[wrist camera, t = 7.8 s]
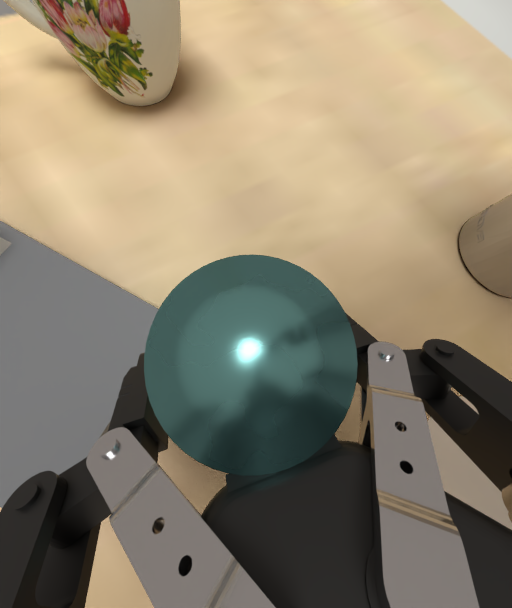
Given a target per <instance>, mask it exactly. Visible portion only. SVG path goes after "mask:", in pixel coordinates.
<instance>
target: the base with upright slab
mask: <svg viewBox="0 0 512 608" xmlns="http://www.w3.org/2000/svg"><path fill="white" fill-rule="evenodd" d="M458 397H459V398H461V399H462V400H463V401H464V402H465V403H466V404H467V405H469V406H470V407H471V408H472V409H473V410H474V411H475V412H477V413H478V411H477V409H476V408H475V406H474V405H473V404H472V403H470V402H469V401H468V400H467V399H466V398H465V397H463V396H458ZM478 414H479V413H478ZM428 426H429V430H430V434H431V439H432V443H433V447H434V451H435V455H436V459H437V464H438V468H439V472H440V476H441V480H442V484H443V489H444V491H445V492H447V493H449V494H451V495H452V496H454V497H456V498H458V499H459V500H461V501H463V502H464V503H466V504H468V505H470V506H471V507H473V508H475V509H476V510H478V511H480V512H482V513H483V514H485V515H487V516H489V517H490V518H492V519H494V520H495V521H497V522H499V523H501V524H502V525H504V526H506V527H507V528H509V529H511V530H512V522H511V520H510V519H509V516H508V510H507V508H506V506H505V504H504V502H503V499H502V492H501V491H500V490H499V489H498V488H497V487H496V486H495V485H494V484H493V483H492V482H491V480H490V479H489V478H488V477H487V476H486V475H485V474H484V473H483V472H482V471H481V470H480V469H479V468H478V467H477V466H476V464H475V463H474V462H473V461H472V460H471V459H470V458H469V457H468V456H467V455H466V454H465V453H464V452H463V451H462V450H461V448H460V447H459V446H458V445H457V444H456V443H455V442H454V441H453V440H452V439H451V438H450V437H449V436H448V435H447V434H446V432H445V431H444V430H443V429H442V428H441V427H440V426H439V425H438V424H437V423H436V422H435V421H434V420H433V419H432V418H431V416H430V418H429V420H428Z"/></svg>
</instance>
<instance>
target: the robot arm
mask: <svg viewBox="0 0 512 608" xmlns="http://www.w3.org/2000/svg"><path fill="white" fill-rule="evenodd" d="M459 247H460V252H461V255H462V258H463V260H464V262H465V265H466V267H467V268H468V269H469V271H470V272H471V274H472V275H473V276H474V277H475V278H476V279H477V280H478V281H479V282H480V283H481V284H482V285H484V286H485V287H486V288H488V289H489V290H491V291H493V292H495V293H497V294H499V295H502V296H505V297H511V298H512V194H511V195H509V196H507V197H506V198H504V199H502V200H501V201H499V202H497V203H495V204H494V205H491V206H489V207H488V208H486V209H485V210H484V211H482V212H480V213H479V214H477V215H475V216H474V217H472V218H471V219H469V220H468V221H467V222H466V223H465V224H464V225H463V228H462V230H461V232H460V237H459ZM345 314H346V313H345ZM346 316H347V318H348V321H349V323H350V326H351V329H352V332H353V335H354V339H355V344H356V349H357V362H358V365H357V380H356V382H358V383H359V385H360V386H361V388H360V432H359V443H355V442H350V441H338V440H337V438H336V436H335V435H334V434H333V436H332V437H331V438H330V439H329V441H328V442H327V443H326V444H325V445H324V446H323V447H321V448H320V449H319V450H318V451H317V452H316V453H315V454H313V455H312V456H310V457H309V458H307V459H306V460H304V461H303V462H301V463H299V464H297V465H295V466H293V467H291V468H288V469H285V470H282V471H279V472H276V473H271V474H264V475H236V474H227V475H226V483H227V485H226V486H224V487H223V488H222V489H221V490H220V491H219V492H218V493H217V494H216V495H215V496H214V497H213V499H212V500H211V501H210V502H209V504H208V506H207V507H206V509H205V510H204V512H203V514H202V516H201V515H200V513H199V512H198V511H197V510H196V509H195V507H194V506H193V505H192V504H191V503H190V502H189V500H188V499H187V498H186V497H185V496H184V494H183V493H182V492H181V491H180V490H179V488H178V487H177V486H176V485H175V484H174V482H173V481H172V480H171V479H170V478H169V476H168V475H167V474H166V473H165V472H164V470H163V469H162V468H161V467H160V466H159V465H158V463H157V460H158V452H160V451H163V450H166V449H168V434H167V433H166V432H165V431H164V429H163V428H162V426H161V424H160V423H159V421H158V419H157V417H156V416H155V413H154V411H153V408H152V406H151V404H150V401H149V397H148V393H147V389H146V384H145V376H144V354H145V352H144V353H141V354H140V355H139V359H138V363H137V366H134V367H131V368H130V369H129V371H128V372H127V374H126V375H125V376H124V378H123V381H122V385H121V389H120V392H119V395H118V397H119V398H117V402H116V405H115V408H114V412H113V415H112V418H111V422H110V425H109V429H108V432H107V433H105V434H104V435H103V436H101V437H100V438H99V439H98V440H97V441H96V442H95V444H94V445H93V446H92V448H91V449H90V451H89V453H88V456H87V457H86V458H85V459H83V460H82V461H80V462H78V463H77V464H75V465H74V466H72V467H70V468H69V469H67V470H66V471H64V472H62V473H61V474H59V475H57V474H56V473H54V472H53V471H43V472H40V473H38V474H36V475H34V476H32V477H31V478H29V479H28V480H26V481H25V482H24V483H23V484H22V485H21V486H19V487H18V488H17V489H16V490H15V491H14V493H13V494H12V495H11V496H10V497H9V499H8V500H7V501H6V503H5V504H4V506H3V508H2V510H1V512H0V608H85V602H86V597H87V592H88V587H89V582H90V577H91V571H92V566H93V561H94V556H95V551H96V545H97V540H98V535H99V530H100V525H101V521H103V520H104V519H105V518H107V517H108V516H109V515H111V514H112V515H111V516H110V517H109V519H110V523H111V526H112V528H113V530H114V531H115V533H116V535H117V537H118V539H119V541H120V543H121V545H122V547H123V549H124V551H125V553H126V554H127V556H128V558H129V560H130V562H131V564H132V566H133V568H134V570H135V572H136V574H137V576H138V577H139V579H140V581H141V583H142V585H143V587H144V589H145V591H146V593H147V595H148V597H149V598H150V600H151V602H152V604H153V606H154V608H512V530H511V529H509V528H507V527H506V526H504V525H502V524H501V523H499V522H497V521H495V520H494V519H492V518H490V517H489V516H487V515H485V514H483V513H482V512H480V511H478V510H476V509H475V508H473V507H471V506H470V505H468V504H466V503H464V502H463V501H461V500H459V499H458V498H456V497H454V496H452V495H451V494H449V493H447V492H445V491H444V489H443V484H442V480H441V476H440V472H439V468H438V464H437V459H436V455H435V451H434V447H433V443H432V439H431V434H430V430H429V426H428V422H427V418H426V413H425V411H426V412H427V413H428V414H429V415H430V416H431V418H432V419H433V420H434V421H435V422H436V423H437V424H438V425H439V426H440V427H441V428H442V429H443V430H444V431H445V432H446V434H447V435H448V436H449V437H450V438H451V439H452V440H453V441H454V442H455V443H456V444H457V445H458V446H459V447H460V448H461V450H462V451H463V452H464V453H465V454H466V455H467V456H468V457H469V458H470V459H471V460H472V461H473V462H474V463H475V464H476V466H477V467H478V468H479V469H480V470H481V471H482V472H483V473H484V474H485V475H486V476H487V477H488V478H489V479H490V480H491V482H492V483H493V484H494V485H495V486H496V487H497V488H498V489H499V490H500V491H501V492H502V499H503V502H504V504H505V506H506V508H507V510H508V516H509V519H510V520H511V522H512V382H511V381H509V380H508V379H506V378H505V377H503V376H502V375H500V374H499V373H497V372H496V371H495V370H493V369H492V368H490V367H489V366H487V365H486V364H484V363H483V362H481V361H480V360H478V359H477V358H475V357H474V356H472V355H471V354H470V353H468V352H467V351H465V350H464V349H462V348H461V347H459V346H458V345H456V344H454V343H451V342H449V341H445V340H440V339H431V340H428V341H426V342H425V343H424V345H423V348H422V349H415V350H402V349H400V348H399V347H398V346H396V345H394V344H391V343H387V342H378V341H377V340H376V339H375V338H374V337H373V336H371V335H370V334H369V333H368V332H367V331H366V330H365V329H363V328H362V327H361V326H360V325H359V324H357V323H356V322H355V321H354V320H353V319H351V317H350V316H348V315H347V314H346ZM451 387H453V388H454V389H455V390H456V391H458V392H459V393H460V394H461V395H462V396H463V397H465V398H466V399H467V400H468V401H469V402H470V403H472V404H473V405H474V406H475V408H476V409H477V411H478V413H479V414H478V413H477V412H475V411H474V410H473V409H472V408H471V407H470V406H469V405H467V404H466V403H465V402H464V401H463V400H462V399H461V398H459V397H458V396H457V395H456V394H455V393H454V392H453V391H451V390H450V389H451Z"/></svg>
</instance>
